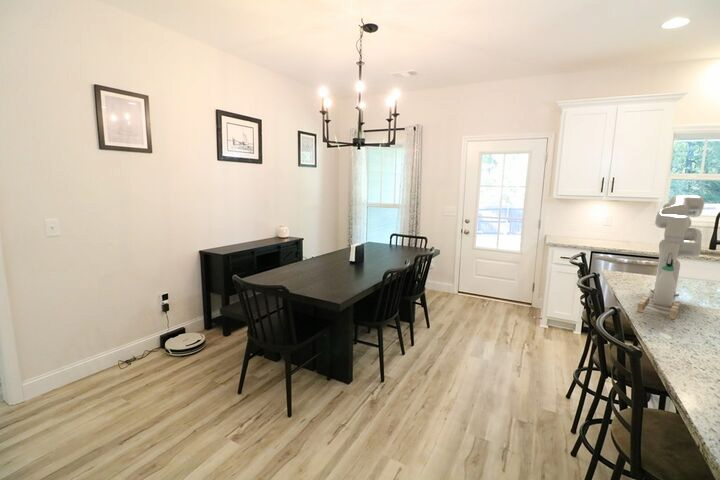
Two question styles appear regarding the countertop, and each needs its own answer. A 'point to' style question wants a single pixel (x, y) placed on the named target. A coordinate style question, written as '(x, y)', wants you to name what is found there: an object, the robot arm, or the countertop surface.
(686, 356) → the countertop surface
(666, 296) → the milk bottle
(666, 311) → the cradle
